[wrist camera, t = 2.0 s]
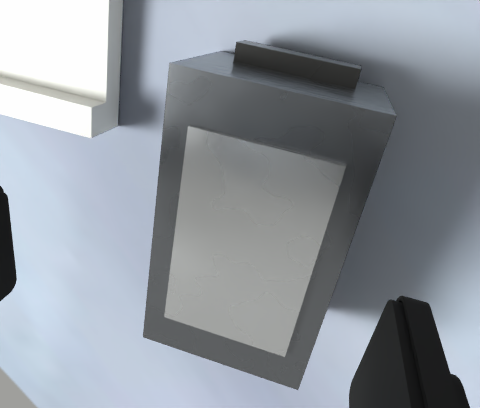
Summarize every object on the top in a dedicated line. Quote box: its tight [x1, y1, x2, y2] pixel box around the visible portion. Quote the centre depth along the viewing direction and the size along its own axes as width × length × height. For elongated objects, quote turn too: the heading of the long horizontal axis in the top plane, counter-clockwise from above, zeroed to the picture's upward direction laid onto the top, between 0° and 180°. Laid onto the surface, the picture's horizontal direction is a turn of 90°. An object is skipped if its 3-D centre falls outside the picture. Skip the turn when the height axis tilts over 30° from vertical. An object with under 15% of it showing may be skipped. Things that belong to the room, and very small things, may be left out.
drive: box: [143, 40, 396, 390], centre depth 15 cm, size 6×11×5 cm, turn 169°
